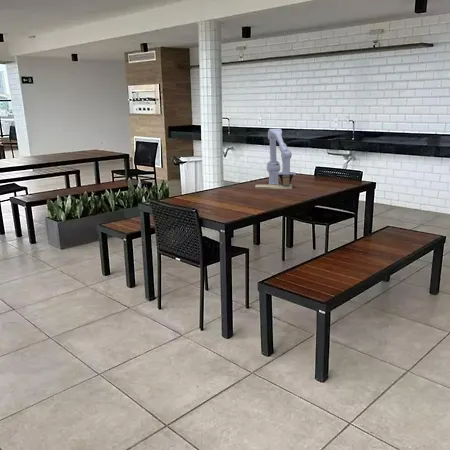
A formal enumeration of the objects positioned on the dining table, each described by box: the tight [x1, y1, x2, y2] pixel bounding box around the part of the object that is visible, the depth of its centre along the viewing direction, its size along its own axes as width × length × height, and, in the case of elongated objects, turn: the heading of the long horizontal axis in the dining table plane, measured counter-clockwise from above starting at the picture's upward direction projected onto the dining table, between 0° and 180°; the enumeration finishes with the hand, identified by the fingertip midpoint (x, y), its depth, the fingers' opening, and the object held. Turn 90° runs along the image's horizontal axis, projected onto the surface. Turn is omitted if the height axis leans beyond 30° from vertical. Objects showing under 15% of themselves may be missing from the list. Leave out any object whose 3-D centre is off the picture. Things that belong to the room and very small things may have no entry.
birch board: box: [254, 184, 293, 190], centre depth 368 cm, size 10×28×2 cm, turn 84°
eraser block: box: [283, 176, 290, 186], centre depth 366 cm, size 7×5×6 cm
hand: (286, 184), depth 366 cm, fingers closed on eraser block, 5 cm apart
